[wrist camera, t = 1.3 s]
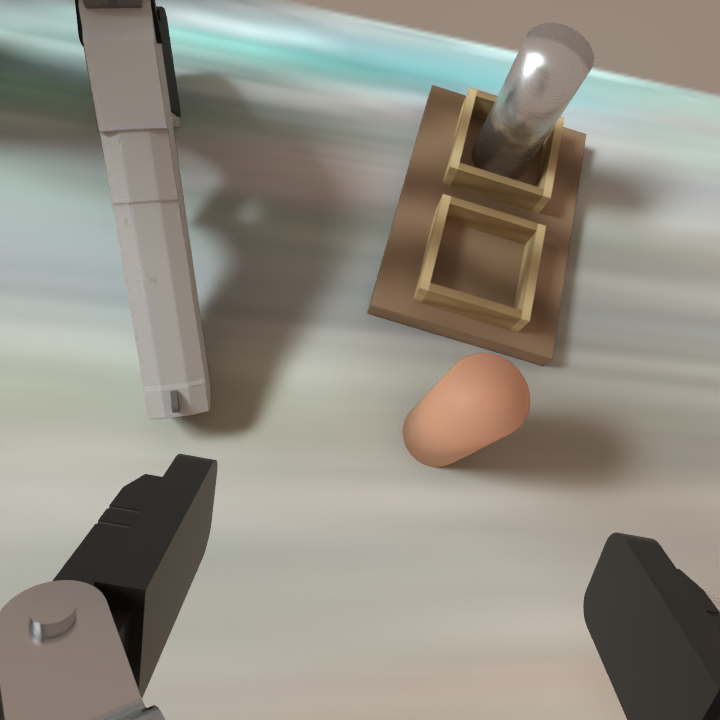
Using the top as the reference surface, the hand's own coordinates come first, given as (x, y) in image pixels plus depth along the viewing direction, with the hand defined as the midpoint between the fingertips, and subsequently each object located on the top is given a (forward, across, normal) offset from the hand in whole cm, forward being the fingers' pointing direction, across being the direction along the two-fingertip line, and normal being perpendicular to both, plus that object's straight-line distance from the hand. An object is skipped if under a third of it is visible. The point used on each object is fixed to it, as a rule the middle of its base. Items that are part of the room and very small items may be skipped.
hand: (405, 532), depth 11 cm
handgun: (+31, +16, +1) cm, 35 cm away
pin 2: (+37, -7, -8) cm, 39 cm away
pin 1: (+24, -5, +10) cm, 27 cm away
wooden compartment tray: (+35, -7, -3) cm, 36 cm away
